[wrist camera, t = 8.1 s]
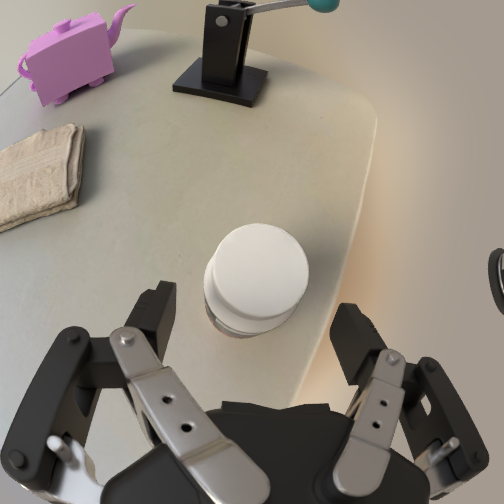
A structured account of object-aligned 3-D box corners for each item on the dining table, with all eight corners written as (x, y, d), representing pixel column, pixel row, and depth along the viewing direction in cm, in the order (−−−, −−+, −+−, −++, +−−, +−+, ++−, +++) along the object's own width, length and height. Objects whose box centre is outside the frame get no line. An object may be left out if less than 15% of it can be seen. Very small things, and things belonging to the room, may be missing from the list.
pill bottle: (216, 262, 23) (223, 198, 14) (281, 281, 23) (327, 231, 14) (196, 328, 21) (185, 307, 11) (265, 347, 21) (308, 340, 12)
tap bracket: (266, 77, 34) (285, 5, 23) (251, 107, 31) (270, 20, 19) (198, 63, 34) (203, -7, 22) (172, 91, 30) (170, 8, 19)
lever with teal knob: (342, 9, 19) (335, -17, 16) (342, 14, 18) (335, -14, 15) (230, 25, 25) (219, 4, 22) (220, 33, 24) (208, 10, 21)
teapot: (33, 122, 26) (5, 60, 14) (33, 94, 28) (14, 41, 17) (149, 67, 32) (145, 0, 21) (133, 49, 35) (129, -8, 23)
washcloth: (85, 207, 23) (73, 190, 20) (-27, 250, 18) (-42, 240, 15) (89, 129, 26) (83, 112, 24) (-12, 174, 22) (-22, 161, 19)
